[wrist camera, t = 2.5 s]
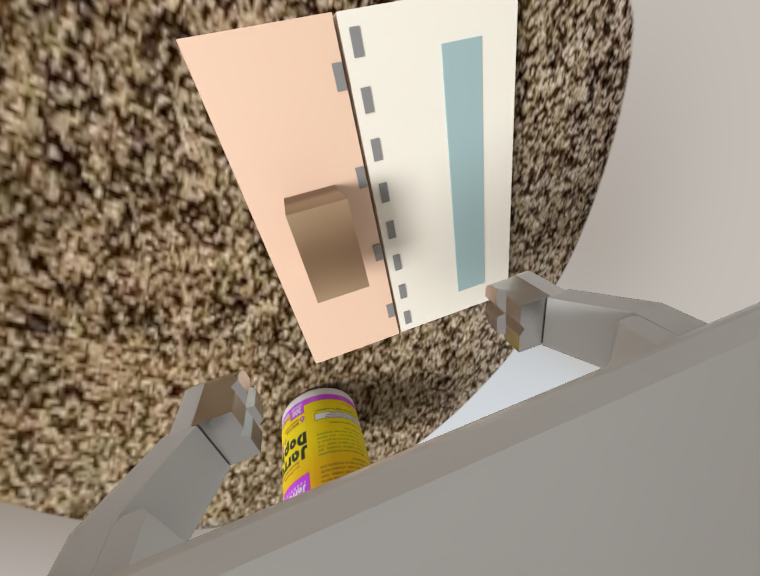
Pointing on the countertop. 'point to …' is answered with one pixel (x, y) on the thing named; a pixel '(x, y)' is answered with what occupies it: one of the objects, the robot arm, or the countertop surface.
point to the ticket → (435, 143)
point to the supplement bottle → (320, 440)
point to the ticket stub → (300, 172)
